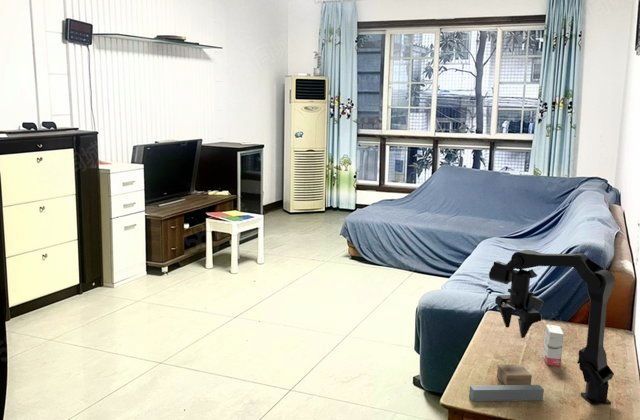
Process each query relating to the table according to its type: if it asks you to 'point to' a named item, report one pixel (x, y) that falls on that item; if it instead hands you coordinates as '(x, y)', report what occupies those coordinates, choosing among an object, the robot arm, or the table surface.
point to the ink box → (553, 345)
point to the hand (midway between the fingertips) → (514, 332)
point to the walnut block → (513, 375)
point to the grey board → (505, 392)
